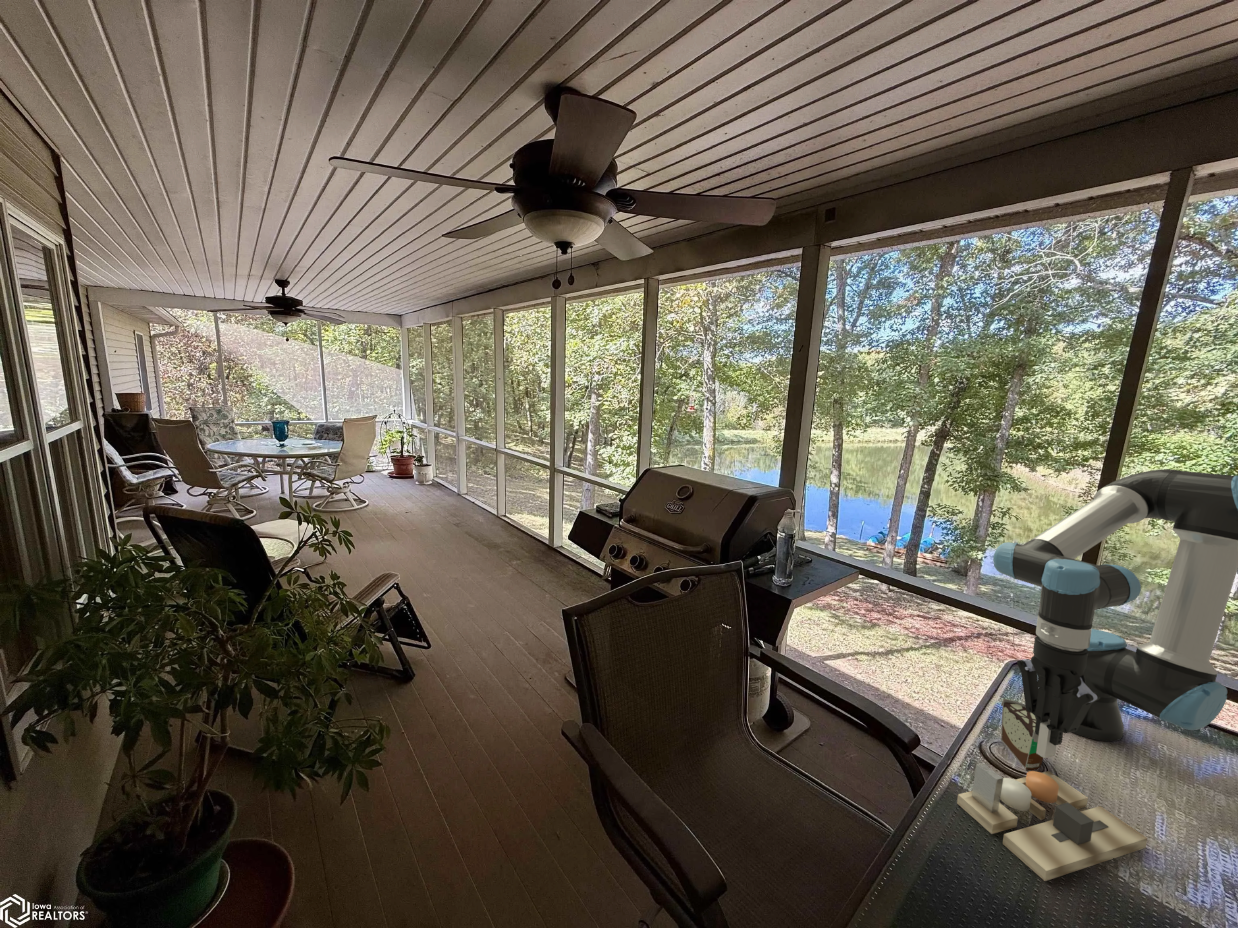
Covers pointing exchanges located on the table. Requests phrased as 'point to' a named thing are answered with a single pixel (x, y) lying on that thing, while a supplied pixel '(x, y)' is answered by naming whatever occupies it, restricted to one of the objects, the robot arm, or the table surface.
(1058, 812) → the slider knob
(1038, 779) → the brown egg
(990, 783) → the toggle lever
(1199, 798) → the table surface
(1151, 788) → the table surface
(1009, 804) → the white egg
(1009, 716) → the food container
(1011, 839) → the beige flat pieces
